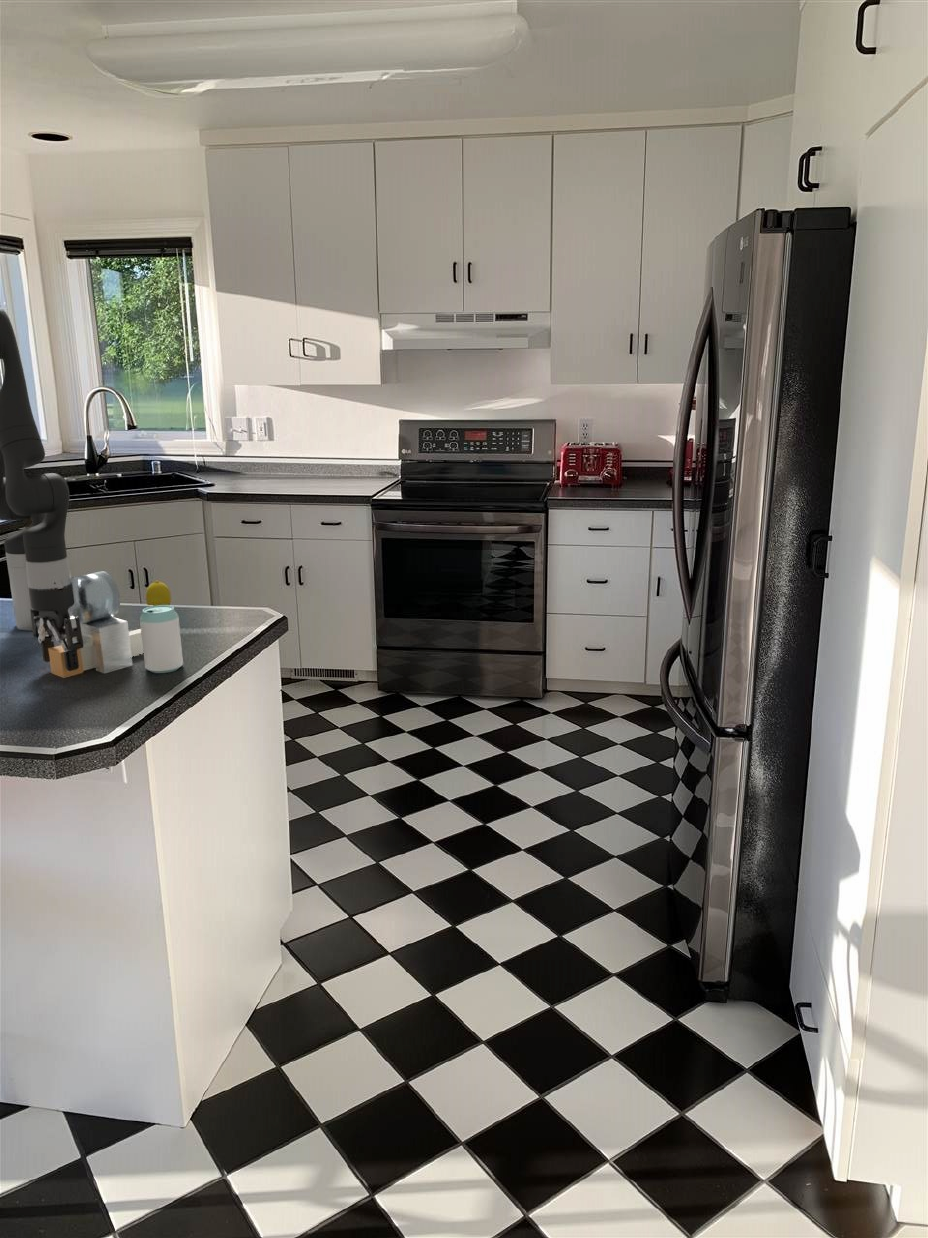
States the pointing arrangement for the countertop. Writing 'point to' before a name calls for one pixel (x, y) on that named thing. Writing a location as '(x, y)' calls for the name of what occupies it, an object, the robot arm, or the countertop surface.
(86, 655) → the plug
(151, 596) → the lemon
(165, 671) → the can
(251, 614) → the countertop surface
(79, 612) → the cylinder
